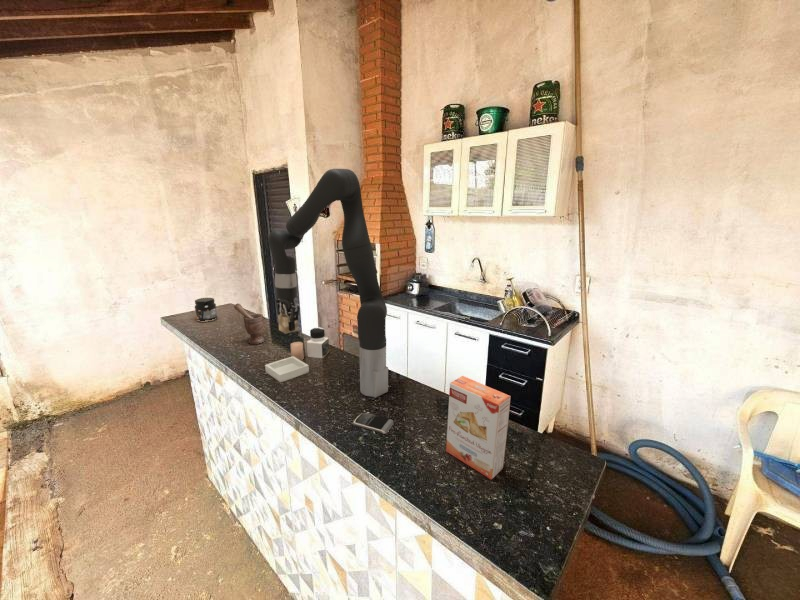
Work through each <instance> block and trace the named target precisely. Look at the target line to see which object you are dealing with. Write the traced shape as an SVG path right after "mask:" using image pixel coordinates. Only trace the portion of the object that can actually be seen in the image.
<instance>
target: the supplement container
mask: <svg viewBox="0 0 800 600" xmlns="http://www.w3.org/2000/svg"><path fill="white" fill-rule="evenodd" d="M194 304H195V305H194V310H195V316H196V319H195V320H196V321H197V320H200V321H205V320H212V319H215V318H217V319H218V314H217V313H218V312H217V304H216V303H215V298H213V297H201V298H197V299H195V300H194Z"/></svg>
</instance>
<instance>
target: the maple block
mask: <svg viewBox="0 0 800 600" xmlns="http://www.w3.org/2000/svg"><path fill="white" fill-rule="evenodd" d="M277 316H278V317H277V319H278V320H277V321H278V331H280V332H282V333H284V334H285V335H286V334H289V333H294V332H298V331H299V330H298V329H299V328H298V320H297V321H295V330H294V331H289V324H288V322H289V321H288V317H287V316H286V314H281V315H278V314H277ZM295 317H296V316H295ZM290 318H291V315H290Z"/></svg>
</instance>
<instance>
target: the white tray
mask: <svg viewBox="0 0 800 600" xmlns="http://www.w3.org/2000/svg"><path fill="white" fill-rule="evenodd" d="M309 367H310V366H309V364H307V363H306V362H304V361H303V360H302V361H301V360H299V359H297V358H295V357H294V356H292V357H291V356H289V357H286V358H284V359H283V358H282V359H280V360H276V361H273V362H270V363H267V364H265V365H264V368H265V373H266V374H268V375H269V376H270V377H272V378H273V379H275V380H276V381H277V382H279V383H283V382H286V381H288V380H291V379H295V378H296V377H300V376H303V375H305V374H308V373H310V368H309Z"/></svg>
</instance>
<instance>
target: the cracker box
mask: <svg viewBox="0 0 800 600" xmlns="http://www.w3.org/2000/svg"><path fill="white" fill-rule="evenodd" d="M510 405H511V395H508V394H507V393H504V392H502V391H499V390H497V389H495V388H492V387H490V386H487V384H486V385H485V384H483V383H480V382H478V381H476V380H473V379H472V378H469V377H466V376H464V375H461V376H460V377H458V378H456V379H455V380H453V381H451V382H449V394H448V411H447V429H446V430H447V431H446V447H445V452H446V453H448V454H450V455H452V456H453V457H454V458H456V459H458V460H459V461H461V462H462V463H464V464H465V465H467V466H469V467H470V468H471V469H474V470H475V471H477V472H478V473H480V474H481V475H483V476H484V477H486V478H487V479H489V480H490V481H492V480H493V479H494V478H495V477H496V476H497V475H498V474H499V473H500V472H501V471H502V470H503V468H504V464H505V463H504V462H505V454H506V447H507V445H506V443H507V435H508V427H509V417H510V416H509V415H510V409H511V408H510Z"/></svg>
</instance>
